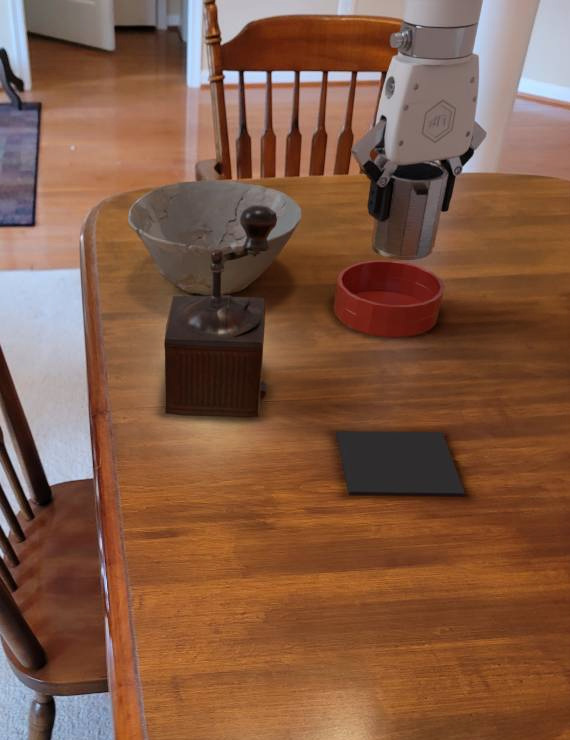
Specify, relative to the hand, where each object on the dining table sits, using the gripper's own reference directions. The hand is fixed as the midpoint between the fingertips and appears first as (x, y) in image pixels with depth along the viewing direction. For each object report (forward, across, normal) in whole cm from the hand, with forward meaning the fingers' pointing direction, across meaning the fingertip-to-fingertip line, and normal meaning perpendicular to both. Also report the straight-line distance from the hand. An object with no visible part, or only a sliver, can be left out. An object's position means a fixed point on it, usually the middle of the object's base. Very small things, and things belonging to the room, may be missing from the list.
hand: (408, 211), depth 98 cm
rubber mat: (+14, -15, -28) cm, 35 cm away
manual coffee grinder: (+13, -26, -7) cm, 31 cm away
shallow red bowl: (+13, 0, +1) cm, 13 cm away
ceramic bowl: (+13, -18, +17) cm, 28 cm away
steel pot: (+4, 0, 0) cm, 4 cm away
